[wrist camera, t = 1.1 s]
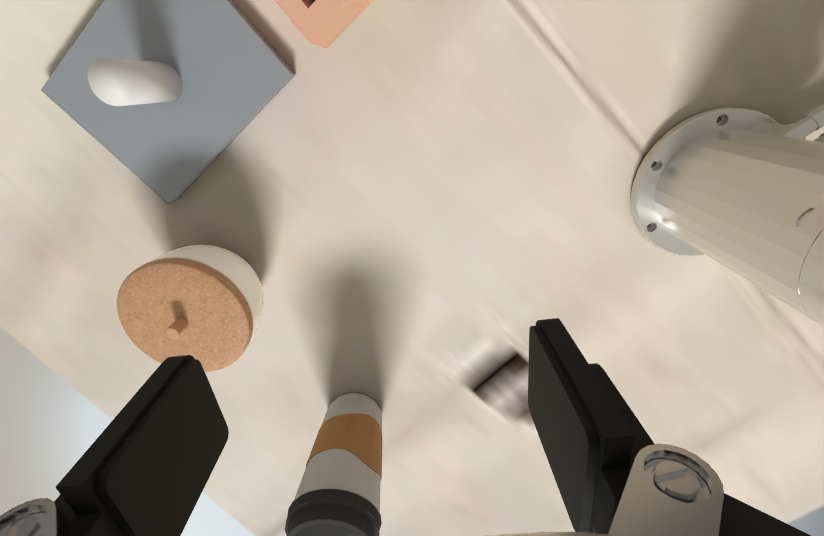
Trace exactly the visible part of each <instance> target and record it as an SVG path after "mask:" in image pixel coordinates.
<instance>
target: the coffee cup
mask: <svg viewBox="0 0 824 536" xmlns="http://www.w3.org/2000/svg"><path fill="white" fill-rule="evenodd" d="M381 474H382V413H381V410H380V408H379V407H378V404H377V403H376V402H375V401H374V400H373V399H371V398H370V397H368V396H366V395H364V394H359V393H348V394H344V395H342V396H340V397H338V398H337V399H336V400H334V401H333V402H332V403H331V404H330V406H329V408H328V410H327V413H326V415H325V418H324V421H323V424H322V426H321V428H320V430H319V432H318V435H317V438H316V440H315V443H314V446H313V448H312V451H311V454H310V456H309V459H308V462H307V464H306V469H305V472H304V475H303V478H302V480H301V483H300V486H299V488H298V491H297V494H296V496H295V499H294V501H293V502H292V504H291V505H290V507H289V509H288V516H287V520H286V526H285V532H286V535H287V536H379V530H380V527H381V515H380V481H381Z"/></svg>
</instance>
